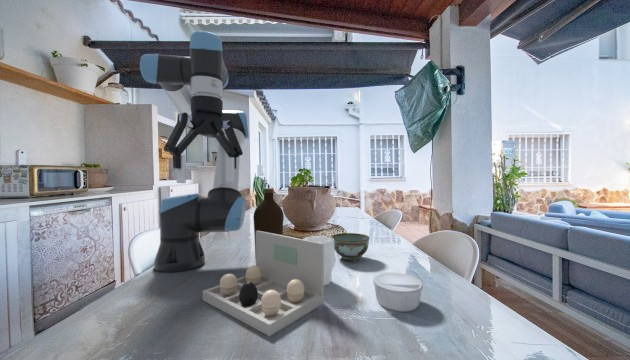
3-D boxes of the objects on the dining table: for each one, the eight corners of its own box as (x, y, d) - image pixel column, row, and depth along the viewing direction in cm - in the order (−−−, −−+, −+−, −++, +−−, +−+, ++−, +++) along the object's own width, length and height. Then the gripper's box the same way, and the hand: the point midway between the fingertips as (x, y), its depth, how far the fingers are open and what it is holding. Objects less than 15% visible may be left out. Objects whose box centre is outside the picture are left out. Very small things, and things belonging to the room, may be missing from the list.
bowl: (373, 265, 90) (373, 241, 90) (332, 264, 91) (332, 241, 90) (365, 253, 104) (365, 232, 104) (330, 253, 104) (330, 232, 104)
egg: (246, 298, 63) (246, 277, 63) (261, 301, 62) (261, 279, 62) (235, 306, 60) (235, 284, 60) (251, 309, 58) (251, 286, 58)
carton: (202, 300, 65) (202, 241, 65) (258, 279, 78) (257, 230, 78) (269, 336, 50) (269, 261, 50) (323, 303, 63) (323, 243, 63)
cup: (331, 290, 71) (332, 244, 71) (298, 287, 73) (298, 242, 72) (336, 277, 80) (336, 236, 79) (306, 275, 81) (306, 235, 81)
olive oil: (274, 264, 91) (274, 189, 90) (247, 261, 94) (247, 189, 94) (288, 255, 101) (288, 188, 100) (263, 252, 104) (263, 187, 104)
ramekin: (396, 319, 56) (396, 294, 56) (363, 298, 66) (363, 276, 66) (433, 307, 62) (433, 284, 62) (397, 289, 72) (397, 269, 71)
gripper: (161, 82, 56) (163, 184, 57) (255, 105, 76) (255, 181, 77) (146, 88, 61) (148, 183, 62) (238, 108, 81) (238, 180, 82)
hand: (207, 182), depth 69 cm, fingers open, 13 cm apart
